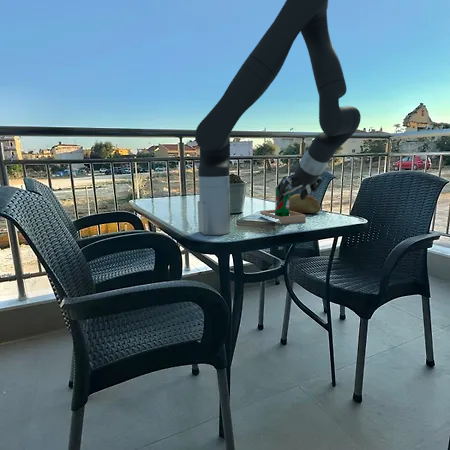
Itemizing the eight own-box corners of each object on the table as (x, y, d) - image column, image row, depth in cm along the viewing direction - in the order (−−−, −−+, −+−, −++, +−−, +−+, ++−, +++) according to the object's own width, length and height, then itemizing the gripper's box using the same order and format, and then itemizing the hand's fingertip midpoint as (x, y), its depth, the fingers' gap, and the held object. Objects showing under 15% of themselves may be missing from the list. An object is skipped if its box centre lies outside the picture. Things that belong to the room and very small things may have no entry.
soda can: (289, 219, 114) (289, 185, 111) (274, 219, 115) (275, 185, 112) (289, 217, 119) (290, 184, 116) (275, 216, 120) (276, 184, 117)
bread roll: (322, 216, 123) (322, 195, 122) (282, 215, 126) (282, 195, 124) (318, 211, 133) (319, 192, 131) (281, 211, 135) (282, 192, 133)
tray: (280, 224, 108) (280, 217, 108) (260, 217, 122) (260, 210, 122) (305, 222, 112) (305, 215, 111) (283, 215, 126) (283, 209, 125)
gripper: (326, 156, 102) (303, 189, 115) (287, 156, 97) (268, 191, 110) (336, 173, 98) (312, 205, 111) (296, 175, 93) (276, 209, 106)
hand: (290, 198), depth 110 cm, fingers open, 8 cm apart
